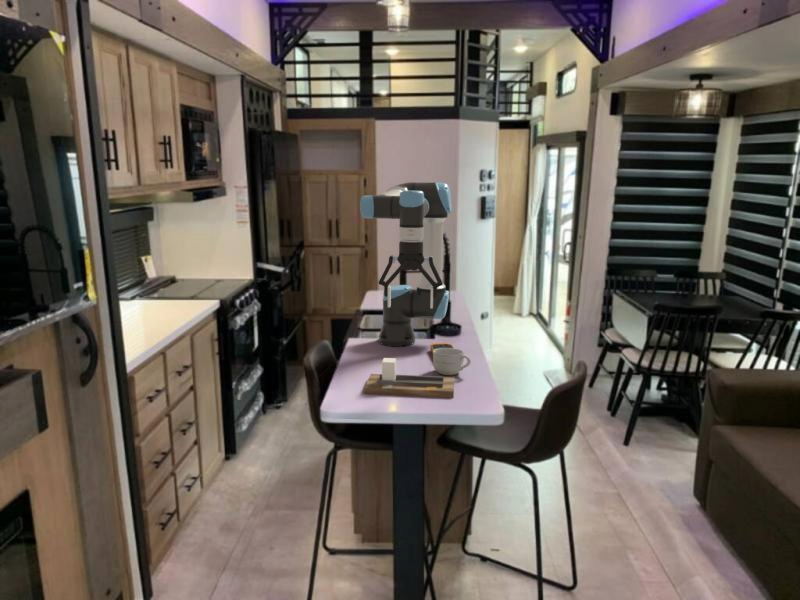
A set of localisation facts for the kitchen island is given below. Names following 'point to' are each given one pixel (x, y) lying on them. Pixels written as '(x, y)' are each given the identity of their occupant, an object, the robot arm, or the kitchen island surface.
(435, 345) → the multimeter
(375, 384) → the wooden slider track
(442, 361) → the teacup
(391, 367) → the switch knob
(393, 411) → the kitchen island surface
